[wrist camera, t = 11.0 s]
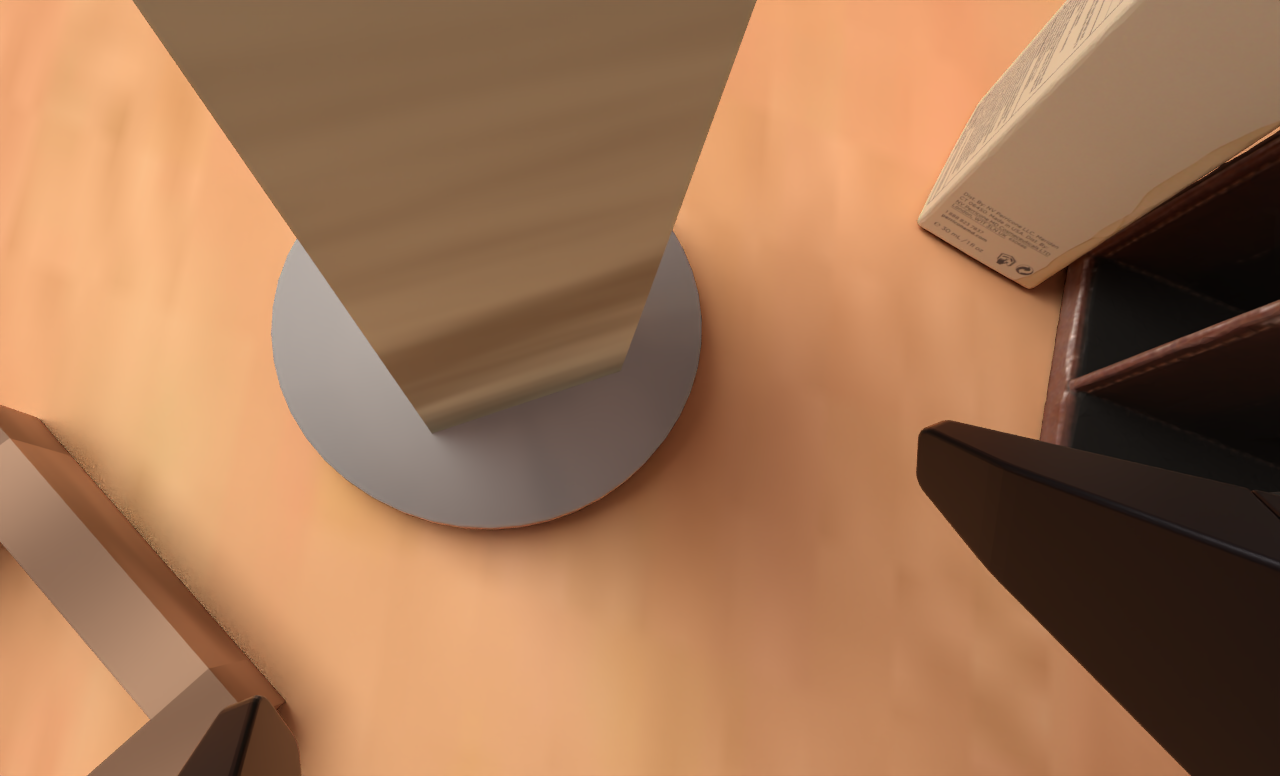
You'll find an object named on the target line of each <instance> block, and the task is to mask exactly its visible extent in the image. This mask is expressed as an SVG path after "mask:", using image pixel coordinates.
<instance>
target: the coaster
mask: <svg viewBox="0 0 1280 776" xmlns="http://www.w3.org/2000/svg"><path fill="white" fill-rule="evenodd" d="M701 327H702V318H701V310H700V302H699V294H698V291H697V287H696V283H695V279H694V276H693V272H692V269H691V267H690V264H689V262H688V259H687V257H686V255H685V252H684V250H683V248H682V246H681V244H680V243H679V241H678V239H677V237H676V236H675V234H674V232H673V230H672V232H671V235H670V238H669V240H668V243H667V246H666V249H665V251H664V254H663V257H662V260H661V262H660V265H659V268H658V270H657V273H656V276H655V279H654V281H653V284H652V287H651V290H650V292H649V295H648V298H647V300H646V303H645V306H644V309H643V311H642V314H641V317H640V320H639V322H638V325H637V328H636V330H635V333H634V336H633V339H632V341H631V344H630V347H629V350H628V352H627V355H626V358H625V360H624V363H623V366H622V369H621V371H619V372H616V373H613V374H610V375H607V376H604V377H601V378H598V379H595V380H592V381H589V382H586V383H583V384H580V385H577V386H574V387H571V388H568V389H565V390H562V391H559V392H556V393H553V394H550V395H547V396H544V397H541V398H538V399H535V400H532V401H528V402H525V403H522V404H519V405H516V406H513V407H510V408H507V409H504V410H501V411H498V412H495V413H492V414H489V415H486V416H483V417H480V418H477V419H474V420H471V421H468V422H465V423H462V424H459V425H456V426H453V427H450V428H447V429H444V430H441V431H438V432H435V433H431V432H430V430H429V429H428V427H427V426H426V424H425V423H424V422H423V420H422V419H421V417H420V416H419V414H418V413H417V411H416V410H415V408H414V407H413V406H412V404H411V403H410V401H409V400H408V398H407V397H406V395H405V394H404V393H403V391H402V390H401V388H400V387H399V385H398V384H397V382H396V381H395V380H394V378H393V377H392V375H391V374H390V372H389V371H388V369H387V368H386V366H385V365H384V364H383V362H382V361H381V359H380V358H379V356H378V355H377V353H376V352H375V351H374V349H373V348H372V346H371V345H370V343H369V342H368V340H367V339H366V338H365V336H364V335H363V333H362V332H361V330H360V329H359V327H358V326H357V325H356V323H355V322H354V320H353V319H352V317H351V316H350V314H349V313H348V311H347V310H346V309H345V307H344V306H343V304H342V303H341V301H340V300H339V298H338V297H337V296H336V294H335V293H334V291H333V290H332V288H331V287H330V285H329V284H328V283H327V281H326V280H325V278H324V277H323V275H322V274H321V272H320V271H319V269H318V268H317V267H316V265H315V264H314V262H313V261H312V259H311V258H310V256H309V255H308V254H307V252H306V251H305V249H304V248H303V246H302V245H301V243H300V242H299V241H298V239H296V241H295V243H294V245H293V247H292V248H291V250H290V252H289V254H288V256H287V259H286V261H285V264H284V267H283V269H282V272H281V275H280V278H279V280H278V285H277V290H276V294H275V299H274V304H273V313H272V330H271V336H272V347H273V357H274V364H275V368H276V372H277V376H278V380H279V384H280V388H281V390H282V392H283V395H284V397H285V400H286V402H287V404H288V407H289V409H290V412H291V414H292V415H293V417H294V419H295V420H296V422H297V424H298V425H299V427H300V429H301V430H302V432H303V434H304V435H305V437H306V438H307V439H308V441H309V442H310V443H311V444H312V445H313V447H314V448H315V449H316V450H317V451H318V453H319V454H320V455H321V456H322V457H323V459H324V460H325V461H326V462H327V463H328V464H330V465H331V466H332V467H333V468H334V469H335V470H336V471H337V472H338V473H340V474H341V475H342V476H343V477H344V478H345V479H346V480H348V481H349V482H351V483H352V484H354V485H355V486H357V487H358V488H360V489H361V490H363V491H364V492H366V493H367V494H369V495H370V496H372V497H373V498H375V499H377V500H379V501H380V502H382V503H384V504H387V505H389V506H391V507H393V508H395V509H397V510H399V511H401V512H403V513H405V514H407V515H410V516H414V517H417V518H420V519H423V520H426V521H429V522H432V523H435V524H441V525H446V526H452V527H457V528H463V529H482V530H498V529H510V528H522V527H526V526H531V525H536V524H540V523H545V522H549V521H552V520H555V519H558V518H561V517H563V516H566V515H569V514H572V513H575V512H577V511H579V510H581V509H583V508H585V507H587V506H589V505H591V504H593V503H595V502H596V501H598V500H600V499H602V498H603V497H605V496H606V495H608V494H609V493H610V492H612V491H613V490H615V489H616V488H618V487H619V486H621V485H622V484H623V483H624V482H625V481H627V480H628V479H629V478H630V477H631V476H632V475H633V474H634V473H635V472H637V471H638V470H639V469H640V468H641V467H642V466H643V465H644V464H645V462H646V461H647V460H648V459H649V458H650V457H651V455H652V454H653V453H654V452H655V451H656V449H657V448H658V447H659V446H660V445H661V443H662V442H663V441H664V440H665V439H666V437H667V435H668V434H669V432H670V431H671V429H672V427H673V426H674V424H675V423H676V421H677V420H678V418H679V416H680V414H681V412H682V410H683V408H684V405H685V403H686V401H687V399H688V397H689V394H690V392H691V389H692V385H693V382H694V379H695V375H696V372H697V369H698V362H699V355H700V349H701Z"/></svg>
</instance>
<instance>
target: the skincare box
mask: <svg viewBox="0 0 1280 776" xmlns="http://www.w3.org/2000/svg"><path fill="white" fill-rule="evenodd" d="M1279 126H1280V0H1066V1H1065V3H1064V4H1063V5H1062V6H1061V7H1060V8H1059V10H1058V11H1057V12H1056V13H1055V14H1054V15H1053V17H1052V18H1051V19H1050V20H1049V21H1048V22H1047V24H1046V25H1045V26H1044V27H1043V28H1042V29H1041V31H1040V32H1039V33H1038V34H1037V35H1036V36H1035V37H1034V39H1033V40H1032V41H1031V42H1030V43H1029V44H1028V46H1027V47H1026V48H1025V49H1024V50H1023V51H1022V53H1021V54H1020V55H1019V56H1018V57H1017V58H1016V60H1015V61H1014V62H1013V63H1012V64H1011V65H1010V67H1009V68H1008V69H1007V70H1006V71H1005V72H1004V74H1003V75H1002V76H1001V77H1000V78H999V79H998V81H997V82H996V83H995V84H994V85H993V86H992V87H991V89H990V90H989V91H988V92H987V93H986V94H985V96H984V97H983V98H982V99H981V100H980V102H979V103H978V105H977V107H976V108H975V110H974V112H973V114H972V115H971V117H970V119H969V121H968V122H967V124H966V126H965V128H964V130H963V131H962V133H961V135H960V137H959V139H958V141H957V143H956V145H955V146H954V148H953V150H952V152H951V154H950V156H949V158H948V160H947V162H946V164H945V166H944V167H943V169H942V171H941V173H940V175H939V177H938V179H937V181H936V183H935V185H934V187H933V189H932V191H931V193H930V195H929V197H928V199H927V201H926V203H925V205H924V207H923V210H922V212H921V214H920V216H919V218H918V221H917V222H918V224H919V226H921V227H922V228H924V229H926V230H928V231H929V232H931V233H933V234H934V235H936V236H938V237H939V238H941V239H943V240H944V241H946V242H948V243H949V244H951V245H952V246H954V247H956V248H958V249H959V250H961V251H963V252H964V253H966V254H968V255H969V256H971V257H973V258H974V259H976V260H978V261H980V262H981V263H983V264H985V265H987V266H988V267H990V268H992V269H994V270H995V271H997V272H999V273H1000V274H1002V275H1004V276H1006V277H1008V278H1010V279H1011V280H1013V281H1015V282H1017V283H1019V284H1020V285H1022V286H1024V287H1026V288H1028V289H1031V288H1034V287H1036V286H1037V285H1039V284H1040V283H1042V282H1043V281H1045V280H1046V279H1048V278H1049V277H1051V276H1053V275H1054V274H1056V273H1057V272H1059V271H1060V270H1062V269H1063V268H1065V267H1066V266H1068V265H1069V264H1071V263H1072V262H1074V261H1075V260H1077V259H1078V258H1080V257H1081V256H1083V255H1084V254H1086V253H1087V252H1089V251H1090V250H1092V249H1094V248H1095V247H1097V246H1098V245H1100V244H1101V243H1103V242H1104V241H1106V240H1107V239H1109V238H1110V237H1112V236H1113V235H1115V234H1116V233H1118V232H1119V231H1121V230H1122V229H1124V228H1125V227H1127V226H1129V225H1130V224H1132V223H1133V222H1135V221H1136V220H1138V219H1139V218H1141V217H1142V216H1144V215H1145V214H1147V213H1148V212H1150V211H1151V210H1153V209H1154V208H1156V207H1157V206H1159V205H1160V204H1162V203H1163V202H1165V201H1167V200H1168V199H1170V198H1171V197H1173V196H1174V195H1176V194H1177V193H1179V192H1180V191H1182V190H1183V189H1185V188H1186V187H1188V186H1189V185H1191V184H1192V183H1194V182H1195V181H1197V180H1199V179H1200V178H1202V177H1203V176H1205V175H1206V174H1208V173H1209V172H1211V171H1212V170H1214V169H1216V168H1217V167H1219V166H1220V165H1222V164H1223V163H1225V162H1226V161H1228V160H1229V159H1231V158H1232V157H1234V156H1235V155H1237V154H1238V153H1240V152H1241V151H1243V150H1244V149H1246V148H1248V147H1249V146H1251V145H1252V144H1254V143H1255V142H1256V141H1258V140H1259V139H1261V138H1263V137H1264V136H1266V135H1267V134H1269V133H1270V132H1272V131H1273V130H1275V129H1276V128H1278V127H1279Z"/></svg>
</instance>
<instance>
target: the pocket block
mask: <svg viewBox="0 0 1280 776" xmlns="http://www.w3.org/2000/svg"><path fill="white" fill-rule="evenodd" d="M0 542H1V543H2V544H3V546H4V547H5V548H6V549H7V550H8V551H9V553H10V554H11V555H12V556H13V557H14V559H15V560H16V561H17V562H18V563H19V564H20V566H21V567H22V568H23V569H24V570H25V572H26V573H27V574H28V575H29V576H30V578H31V579H32V580H33V581H34V582H35V583H36V585H37V586H38V587H39V588H40V589H41V591H42V592H43V593H44V594H45V595H46V597H47V598H48V599H49V600H50V601H51V602H52V604H53V605H54V606H55V607H56V608H57V610H58V611H59V612H60V613H61V614H62V615H63V617H64V618H65V619H66V620H67V621H68V623H69V624H70V625H71V626H72V627H73V629H74V630H75V631H76V632H77V633H78V634H79V636H80V637H81V638H82V639H83V640H84V642H85V643H86V644H87V645H88V646H89V647H90V649H91V650H92V651H93V652H94V653H95V655H96V656H97V657H98V658H99V659H100V661H101V662H102V663H103V664H104V665H105V666H106V668H107V669H108V670H109V671H110V672H111V674H112V675H113V676H114V677H115V678H116V680H117V681H118V682H119V683H120V684H121V685H122V687H123V688H124V689H125V690H126V691H127V693H128V694H129V695H130V696H131V697H132V698H133V700H134V701H135V702H136V703H137V704H138V706H139V707H140V708H141V709H142V710H143V712H144V713H145V714H146V715H147V716H148V717H149V719H150V721H149V722H147V723H146V724H145V725H144V726H143V727H142V728H141V729H140V730H138V731H137V732H136V733H135V734H134V735H133V736H132V737H130V738H129V739H128V740H127V741H126V742H125V743H124V744H123V745H121V746H120V747H119V748H118V749H117V750H116V751H115V752H114V753H112V754H111V755H110V756H109V757H108V758H107V759H106V760H104V761H103V762H102V763H101V764H100V765H99V766H98V767H97V768H95V769H94V770H93V771H92V772H91V773H90V774H89V775H88V776H177V775H178V774H179V772H180V771H181V769H182V768H183V766H184V765H185V763H186V762H187V760H188V759H189V757H190V756H191V754H192V753H193V751H194V750H195V748H196V747H197V745H198V744H199V742H200V741H201V739H202V737H203V736H204V734H205V733H206V731H207V730H208V728H209V727H210V725H211V724H212V722H213V721H214V719H215V718H216V716H217V715H218V714H219V713H220V712H221V711H222V710H223V709H224V708H226V707H227V706H230V705H232V704H235V703H237V702H240V701H242V700H245V699H247V698H250V697H252V696H255V695H263V696H264V697H266V698H267V699H268V700H269V701H270V702H271V704H272V705H273V706H274V708H275V709H276V710H277V709H278V708H279V707H280V706H281V705H282V704H283V703H284V702H285V700H284V699H283V698H282V697H281V696H280V694H279V693H278V692H277V691H276V690H275V689H274V688H273V686H272V685H271V684H270V683H269V682H268V681H267V680H266V678H265V677H264V676H263V675H262V674H261V673H260V672H259V670H258V669H257V668H256V667H255V666H254V665H253V664H252V662H251V661H250V660H249V659H248V658H247V657H246V655H245V654H244V653H243V652H242V651H241V650H240V649H239V647H238V646H237V645H236V644H235V643H234V642H233V641H232V639H231V638H230V637H229V636H228V635H227V634H226V633H225V631H224V630H223V629H222V628H221V627H220V626H219V625H218V623H217V622H216V621H215V620H214V619H213V618H212V617H211V615H210V614H209V613H208V612H207V611H206V610H205V609H204V607H203V606H202V605H201V604H200V603H199V602H198V601H197V599H196V598H195V597H194V596H193V595H192V594H191V593H190V591H189V590H188V589H187V588H186V587H185V586H184V585H183V583H182V582H181V581H180V580H179V579H178V578H177V577H176V575H175V574H174V573H173V572H172V571H171V570H170V569H169V567H168V566H167V565H166V564H165V563H164V562H163V561H162V559H161V558H160V557H159V556H158V555H157V554H156V553H155V551H154V550H153V549H152V548H151V547H150V546H149V545H148V543H147V542H146V541H145V540H144V539H143V538H142V536H141V535H140V534H139V533H138V532H137V531H136V530H135V528H134V527H133V526H132V525H131V524H130V523H129V522H128V520H127V519H126V518H125V517H124V516H123V515H122V514H121V512H120V511H119V510H118V509H117V508H116V507H115V506H114V504H113V503H112V502H111V501H110V500H109V499H108V498H107V496H106V495H105V494H104V493H103V492H102V491H101V490H100V488H99V487H98V486H97V485H96V484H95V483H94V482H93V480H92V479H91V478H90V477H89V476H88V475H87V474H86V472H85V471H84V470H83V469H82V468H81V467H80V466H79V464H78V463H77V462H76V461H75V460H74V459H73V458H72V456H71V455H70V454H69V453H68V452H67V451H66V450H65V448H64V447H63V446H62V445H61V444H60V443H59V442H58V440H57V439H56V438H55V437H54V436H53V435H52V434H51V432H50V431H49V430H48V429H47V428H46V427H45V425H44V424H43V423H42V422H41V421H40V420H39V419H38V418H37V417H34V416H31V415H28V414H25V413H22V412H19V411H17V410H14V409H11V408H8V407H5V406H2V405H0Z"/></svg>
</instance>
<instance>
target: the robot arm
mask: <svg viewBox="0 0 1280 776" xmlns="http://www.w3.org/2000/svg"><path fill="white" fill-rule="evenodd" d="M916 475H917V479H918V482H919V485H920V486H921V488H922V490H923V491H924V492H925V494H926V495H927V496H928V497H929V499H930V500H931V501H932V502H933V504H934V505H935V506H936V507H937V508H938V510H939V511H940V512H941V513H942V515H943V516H944V517H945V518H946V520H947V521H948V522H949V523H950V524H951V526H952V527H953V528H954V529H955V531H956V532H957V533H958V534H959V536H960V537H961V538H962V539H963V540H964V542H965V543H966V544H967V545H968V547H969V548H970V549H971V550H972V552H973V553H974V554H975V555H976V556H977V558H978V559H979V560H980V561H981V562H982V563H983V565H984V566H985V567H986V568H987V569H988V570H989V571H990V573H991V574H992V575H993V576H994V577H995V578H996V579H997V580H998V581H999V582H1000V583H1001V584H1002V585H1003V586H1004V587H1005V588H1006V589H1007V590H1008V591H1009V592H1010V593H1011V594H1012V595H1013V596H1014V597H1015V598H1016V599H1017V600H1018V601H1019V602H1020V603H1021V604H1022V605H1023V606H1024V608H1025V609H1026V610H1027V611H1028V612H1029V613H1030V614H1031V615H1032V616H1033V617H1034V618H1035V619H1036V620H1037V621H1038V622H1039V623H1040V624H1041V625H1042V626H1043V627H1044V628H1045V629H1046V630H1047V631H1048V632H1049V633H1050V634H1051V635H1052V636H1053V637H1054V638H1055V639H1056V640H1057V641H1058V642H1059V643H1060V644H1061V645H1062V646H1063V647H1064V648H1065V649H1066V650H1067V651H1068V652H1069V653H1070V654H1071V655H1072V656H1073V657H1074V658H1075V659H1076V660H1077V661H1078V662H1079V663H1080V664H1081V665H1082V666H1083V667H1084V668H1085V669H1086V670H1087V671H1088V672H1089V673H1090V674H1091V675H1092V676H1093V677H1094V678H1095V679H1096V680H1097V681H1098V682H1099V683H1100V684H1101V685H1102V686H1103V687H1104V688H1105V689H1106V690H1107V691H1108V692H1109V693H1110V694H1111V696H1112V697H1113V698H1114V699H1115V700H1116V701H1117V702H1118V703H1119V704H1120V705H1121V706H1122V707H1123V708H1124V709H1125V710H1126V711H1127V712H1128V713H1129V714H1130V715H1131V716H1132V717H1133V718H1134V719H1135V720H1136V721H1137V722H1138V723H1139V724H1140V725H1141V726H1142V727H1143V728H1144V729H1145V730H1146V731H1147V732H1148V733H1149V734H1150V735H1151V736H1152V737H1153V738H1154V739H1155V740H1156V741H1157V742H1158V743H1159V744H1160V745H1161V746H1162V747H1163V748H1164V749H1165V750H1166V751H1167V752H1168V753H1169V754H1170V755H1171V756H1172V757H1173V758H1174V759H1175V760H1176V761H1177V762H1178V763H1179V764H1180V765H1181V766H1182V767H1183V768H1184V769H1185V770H1186V771H1187V772H1188V773H1189V774H1190V775H1191V776H1280V495H1276V494H1272V493H1268V492H1263V491H1259V490H1253V491H1250V490H1249V489H1247V488H1245V487H1241V486H1237V485H1232V484H1228V483H1223V482H1219V481H1215V480H1210V479H1206V478H1201V477H1197V476H1193V475H1188V474H1184V473H1179V472H1175V471H1171V470H1166V469H1162V468H1158V467H1153V466H1149V465H1144V464H1140V463H1136V462H1131V461H1127V460H1122V459H1118V458H1114V457H1109V456H1105V455H1100V454H1096V453H1092V452H1087V451H1083V450H1078V449H1074V448H1070V447H1065V446H1061V445H1057V444H1052V443H1048V442H1043V441H1039V440H1035V439H1030V438H1026V437H1021V436H1017V435H1013V434H1008V433H1004V432H999V431H995V430H991V429H986V428H982V427H977V426H973V425H969V424H964V423H960V422H956V421H951V420H945V421H941V422H938V423H936V424H933V425H931V426H928V427H926V428H924V429H923V430H921V432H920V434H919V437H918V450H917V468H916ZM177 776H301V764H300V754H299V748H298V744H297V741H296V739H295V736H294V734H293V733H292V731H291V730H290V729H289V727H288V726H287V724H286V723H285V722H284V720H283V719H282V718H281V716H280V715H279V713H278V712H277V711H276V709H275V708H274V706H273V705H272V704H271V702H270V701H269V700H268V699H267V698H266V697H264V696H263V695H255V696H252V697H250V698H247V699H245V700H242V701H240V702H237V703H235V704H232V705H230V706H227V707H226V708H224V709H223V710H222V711H221V712H220V713H219V714H218V715H217V716H216V718H215V719H214V721H213V722H212V724H211V725H210V727H209V728H208V730H207V731H206V733H205V734H204V736H203V737H202V739H201V741H200V742H199V744H198V745H197V747H196V748H195V750H194V751H193V753H192V754H191V756H190V757H189V759H188V760H187V762H186V763H185V765H184V766H183V768H182V769H181V771H180V772H179V774H178V775H177Z"/></svg>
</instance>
